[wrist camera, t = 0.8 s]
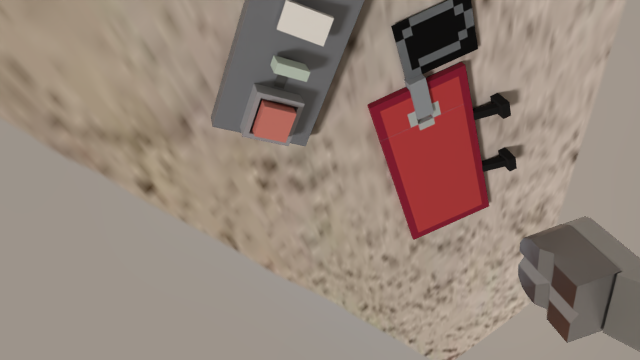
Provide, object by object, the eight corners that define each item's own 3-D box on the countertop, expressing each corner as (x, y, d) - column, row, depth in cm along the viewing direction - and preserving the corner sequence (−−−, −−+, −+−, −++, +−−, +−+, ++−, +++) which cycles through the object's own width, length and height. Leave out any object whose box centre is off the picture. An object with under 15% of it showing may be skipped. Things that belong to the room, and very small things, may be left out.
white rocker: (286, -2, 42) (286, 0, 41) (333, 16, 43) (334, 18, 42) (276, 27, 43) (276, 29, 42) (322, 44, 44) (323, 46, 43)
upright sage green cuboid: (273, 55, 44) (277, 62, 43) (305, 64, 46) (310, 72, 44) (270, 65, 45) (274, 73, 43) (301, 73, 46) (306, 82, 45)
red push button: (262, 99, 46) (264, 106, 44) (293, 107, 47) (296, 114, 46) (252, 128, 47) (254, 136, 46) (282, 135, 48) (285, 142, 47)
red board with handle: (482, -20, 48) (345, 42, 49) (496, -13, 46) (353, 52, 47) (508, 188, 67) (409, 232, 67) (520, 201, 65) (418, 246, 65)
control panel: (280, -122, 39) (290, -118, 36) (384, -75, 43) (402, -68, 40) (211, 117, 49) (214, 136, 46) (301, 137, 53) (309, 155, 50)
